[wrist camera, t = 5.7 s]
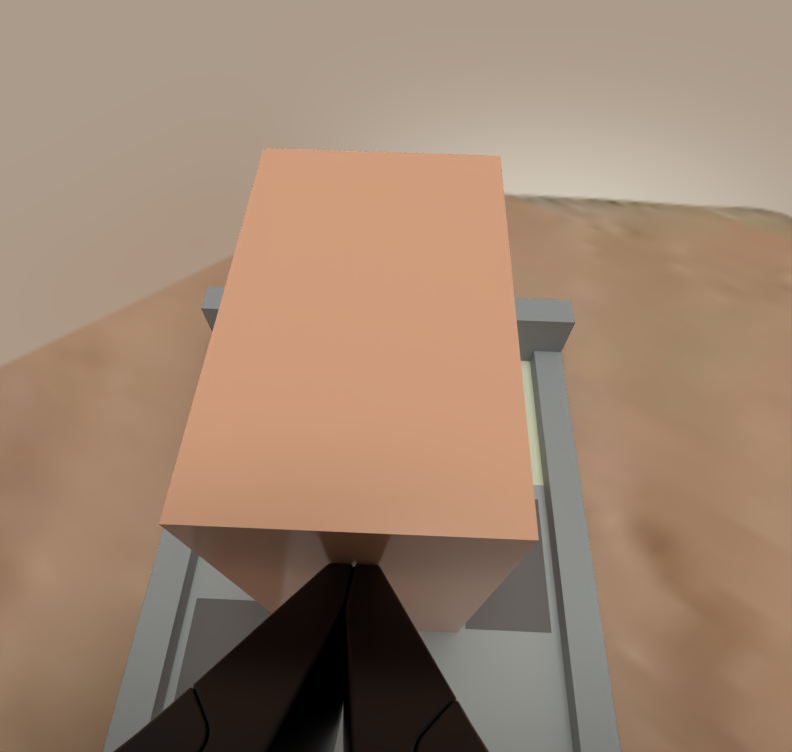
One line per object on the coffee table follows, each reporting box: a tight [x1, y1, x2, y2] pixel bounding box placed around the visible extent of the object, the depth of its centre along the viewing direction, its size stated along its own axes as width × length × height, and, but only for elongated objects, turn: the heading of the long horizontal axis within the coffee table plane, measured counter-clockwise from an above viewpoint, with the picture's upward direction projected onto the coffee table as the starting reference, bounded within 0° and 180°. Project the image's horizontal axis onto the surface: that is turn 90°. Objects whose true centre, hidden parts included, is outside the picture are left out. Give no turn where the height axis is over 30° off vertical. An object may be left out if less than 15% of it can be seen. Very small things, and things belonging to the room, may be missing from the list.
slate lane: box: [103, 287, 621, 752], centre depth 15 cm, size 19×13×3 cm
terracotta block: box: [159, 148, 539, 632], centre depth 13 cm, size 8×5×10 cm, turn 178°
